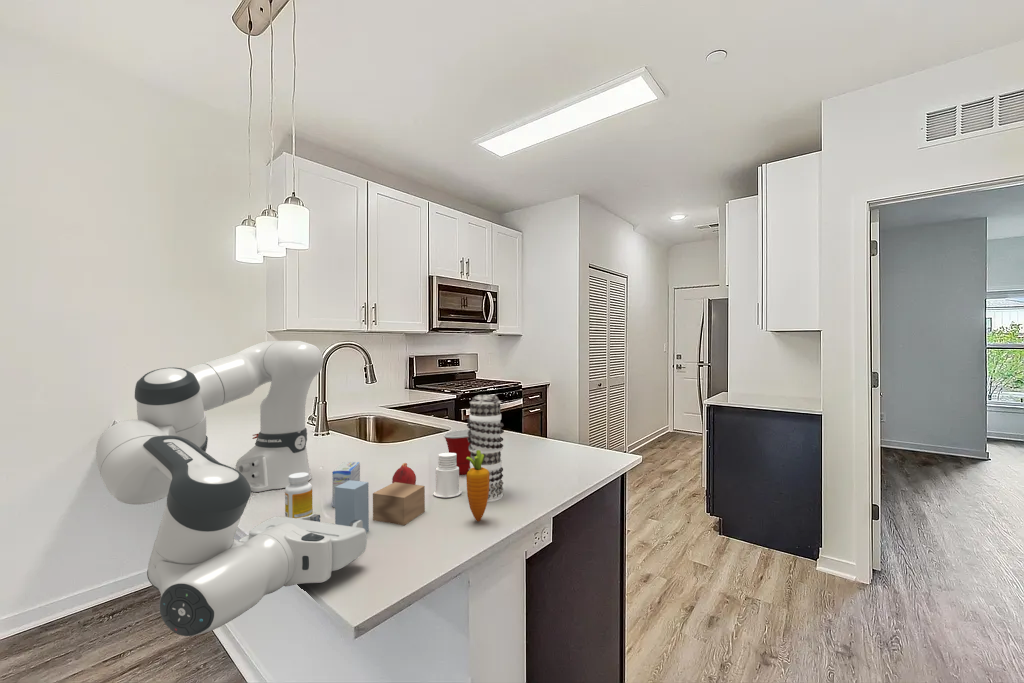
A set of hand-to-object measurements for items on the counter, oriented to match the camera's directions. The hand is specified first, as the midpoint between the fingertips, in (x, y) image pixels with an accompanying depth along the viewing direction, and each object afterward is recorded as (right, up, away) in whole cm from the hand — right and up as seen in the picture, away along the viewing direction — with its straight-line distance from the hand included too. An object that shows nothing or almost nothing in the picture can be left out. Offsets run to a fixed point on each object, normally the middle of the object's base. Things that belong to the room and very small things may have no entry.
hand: (338, 520), depth 84 cm
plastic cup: (+18, -5, +47) cm, 50 cm away
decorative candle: (+26, -5, +26) cm, 38 cm away
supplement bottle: (-13, -5, +13) cm, 19 cm away
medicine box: (-7, -5, +23) cm, 25 cm away
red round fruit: (+6, -5, +28) cm, 29 cm away
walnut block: (+8, -5, +14) cm, 17 cm away
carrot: (+26, -5, +11) cm, 28 cm away
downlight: (+17, -5, +28) cm, 33 cm away
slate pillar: (+1, -5, +5) cm, 7 cm away
